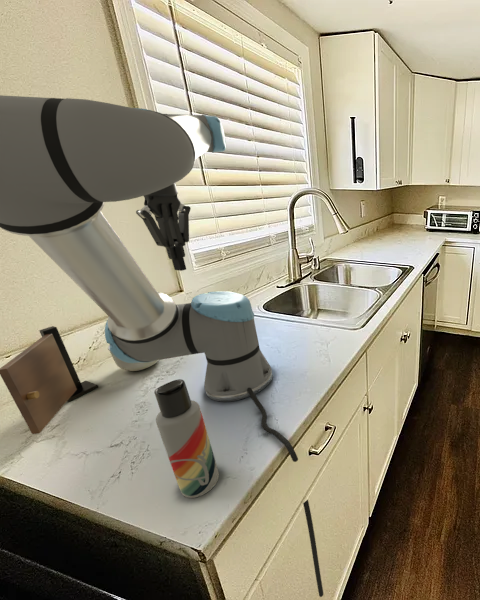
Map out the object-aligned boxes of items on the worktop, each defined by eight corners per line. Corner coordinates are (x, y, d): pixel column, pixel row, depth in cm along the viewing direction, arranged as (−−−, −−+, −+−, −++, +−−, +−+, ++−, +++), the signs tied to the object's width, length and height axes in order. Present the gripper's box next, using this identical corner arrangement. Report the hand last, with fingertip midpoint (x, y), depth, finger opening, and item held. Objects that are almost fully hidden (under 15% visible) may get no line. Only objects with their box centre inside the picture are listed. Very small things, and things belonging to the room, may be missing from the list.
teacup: (140, 378, 84) (130, 351, 81) (106, 373, 86) (95, 347, 83) (183, 351, 96) (176, 326, 94) (153, 347, 99) (145, 324, 96)
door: (70, 390, 77) (45, 334, 72) (83, 388, 78) (59, 332, 73) (32, 434, 64) (-3, 370, 59) (48, 431, 65) (15, 367, 60)
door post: (56, 397, 77) (25, 333, 71) (86, 383, 82) (60, 322, 76) (68, 402, 75) (38, 337, 69) (98, 387, 81) (73, 325, 74)
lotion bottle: (193, 504, 52) (158, 401, 44) (173, 489, 54) (137, 389, 47) (226, 477, 56) (199, 380, 49) (206, 464, 59) (178, 370, 52)
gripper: (172, 179, 89) (192, 262, 98) (118, 180, 78) (147, 274, 86) (191, 179, 86) (210, 265, 95) (138, 180, 75) (166, 277, 84)
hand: (180, 269), depth 91 cm, fingers closed
